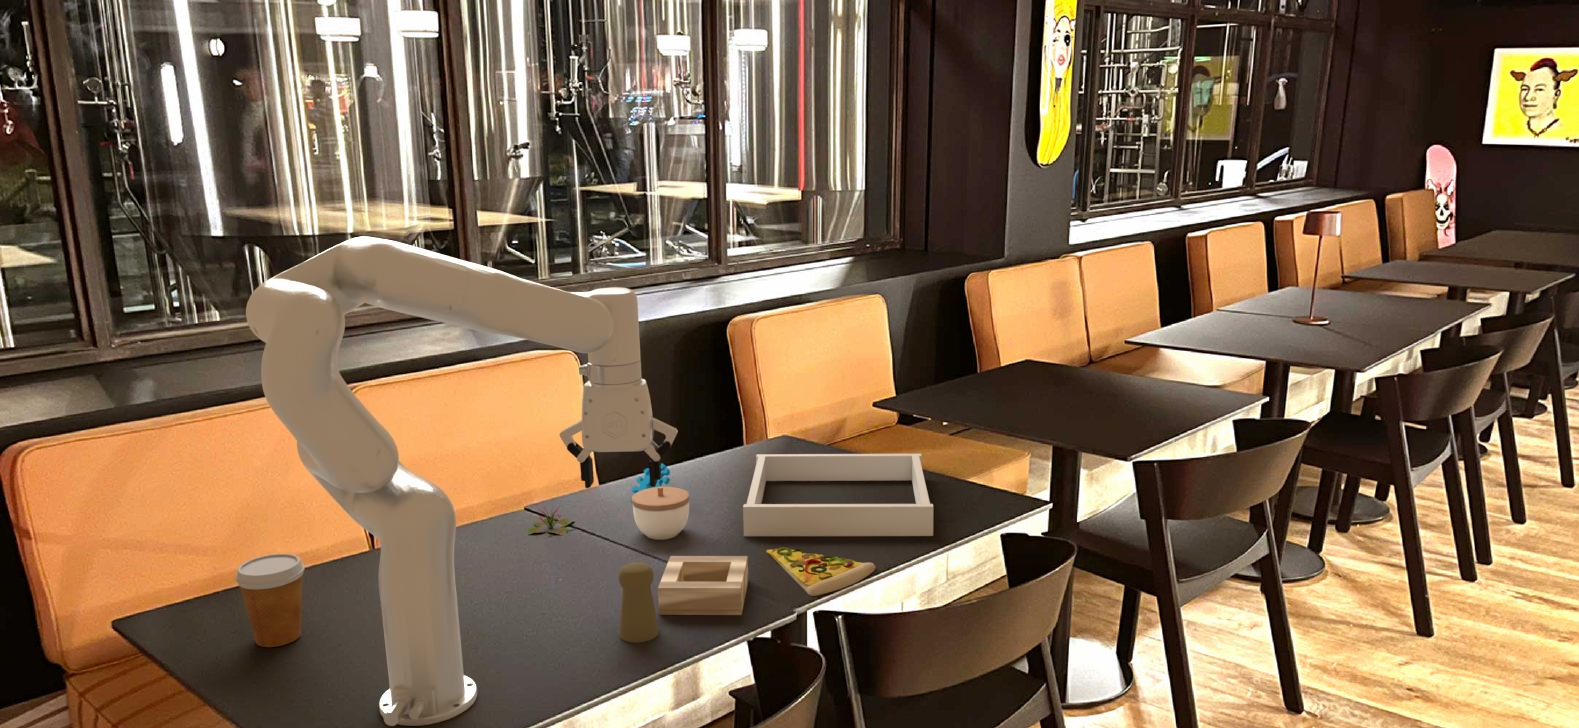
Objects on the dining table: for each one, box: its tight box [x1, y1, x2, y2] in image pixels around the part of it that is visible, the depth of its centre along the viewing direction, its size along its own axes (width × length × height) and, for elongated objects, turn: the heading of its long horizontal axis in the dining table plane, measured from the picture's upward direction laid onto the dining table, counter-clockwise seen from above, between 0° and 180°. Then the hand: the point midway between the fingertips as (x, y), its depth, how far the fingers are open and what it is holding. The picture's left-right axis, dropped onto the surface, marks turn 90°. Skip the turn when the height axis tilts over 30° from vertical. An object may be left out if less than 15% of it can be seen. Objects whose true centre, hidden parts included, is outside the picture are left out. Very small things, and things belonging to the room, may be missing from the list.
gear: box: [630, 463, 671, 501], centre depth 225 cm, size 11×6×10 cm
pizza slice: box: [766, 546, 876, 597], centre depth 191 cm, size 16×21×3 cm
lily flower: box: [525, 505, 577, 539], centre depth 212 cm, size 12×12×5 cm
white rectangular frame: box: [742, 453, 934, 537], centre depth 220 cm, size 33×35×6 cm
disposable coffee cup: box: [234, 553, 306, 648], centre depth 167 cm, size 10×10×12 cm
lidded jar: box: [631, 486, 691, 541], centre depth 207 cm, size 11×11×9 cm
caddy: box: [657, 555, 749, 616], centre depth 179 cm, size 13×13×4 cm
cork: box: [618, 561, 660, 644], centre depth 167 cm, size 6×6×11 cm
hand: (621, 484), depth 165 cm, fingers open, 9 cm apart
